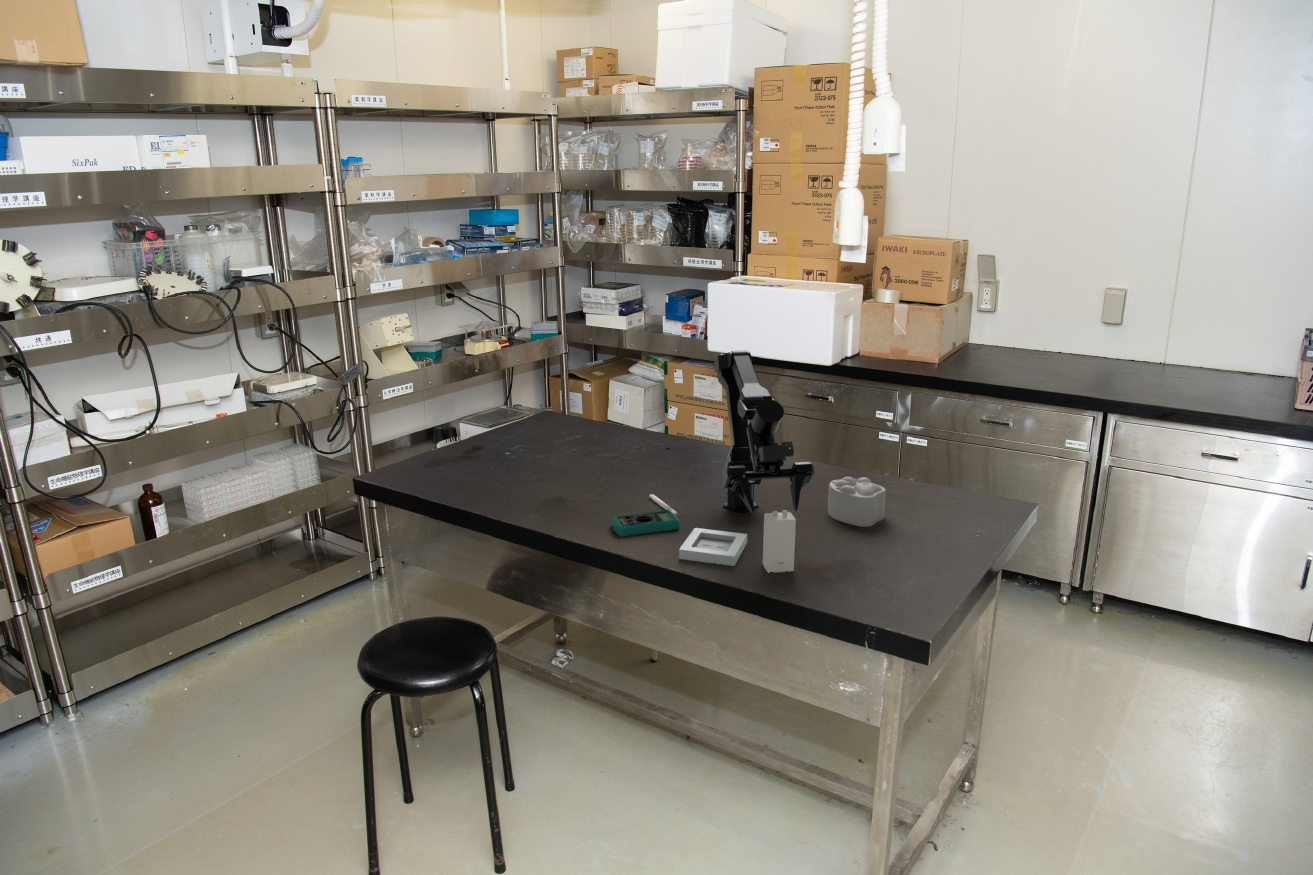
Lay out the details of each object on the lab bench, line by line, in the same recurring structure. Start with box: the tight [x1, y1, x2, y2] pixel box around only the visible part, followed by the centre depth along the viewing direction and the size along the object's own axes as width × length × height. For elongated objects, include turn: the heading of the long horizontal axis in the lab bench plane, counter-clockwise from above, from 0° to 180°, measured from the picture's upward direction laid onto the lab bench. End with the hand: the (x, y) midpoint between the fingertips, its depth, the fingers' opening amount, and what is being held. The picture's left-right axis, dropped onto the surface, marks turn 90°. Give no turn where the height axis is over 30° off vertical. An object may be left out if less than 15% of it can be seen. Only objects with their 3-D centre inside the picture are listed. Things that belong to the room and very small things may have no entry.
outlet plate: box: [678, 527, 748, 567], centre depth 187 cm, size 12×12×2 cm
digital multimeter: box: [612, 509, 680, 538], centre depth 200 cm, size 7×15×3 cm, turn 107°
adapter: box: [762, 509, 797, 574], centre depth 178 cm, size 4×6×13 cm
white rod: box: [649, 493, 678, 516], centre depth 212 cm, size 13×1×1 cm, turn 26°
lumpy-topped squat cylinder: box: [827, 476, 887, 528], centre depth 205 cm, size 10×13×9 cm
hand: (774, 511), depth 180 cm, fingers open, 9 cm apart
